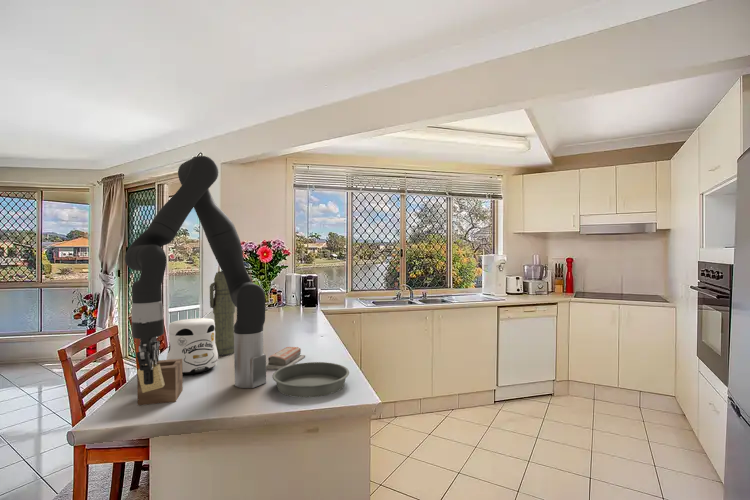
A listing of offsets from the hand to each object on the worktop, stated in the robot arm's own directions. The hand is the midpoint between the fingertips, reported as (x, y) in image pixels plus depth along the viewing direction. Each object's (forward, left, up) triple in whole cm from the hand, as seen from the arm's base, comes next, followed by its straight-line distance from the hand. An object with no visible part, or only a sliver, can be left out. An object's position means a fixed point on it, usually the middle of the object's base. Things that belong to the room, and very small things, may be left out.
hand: (150, 382), depth 110 cm
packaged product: (+1, -55, -9) cm, 56 cm away
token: (-1, -1, -2) cm, 2 cm away
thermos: (+33, -56, -9) cm, 65 cm away
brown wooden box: (+9, -10, -9) cm, 16 cm away
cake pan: (-25, -38, -9) cm, 47 cm away
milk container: (+24, -33, -9) cm, 42 cm away
